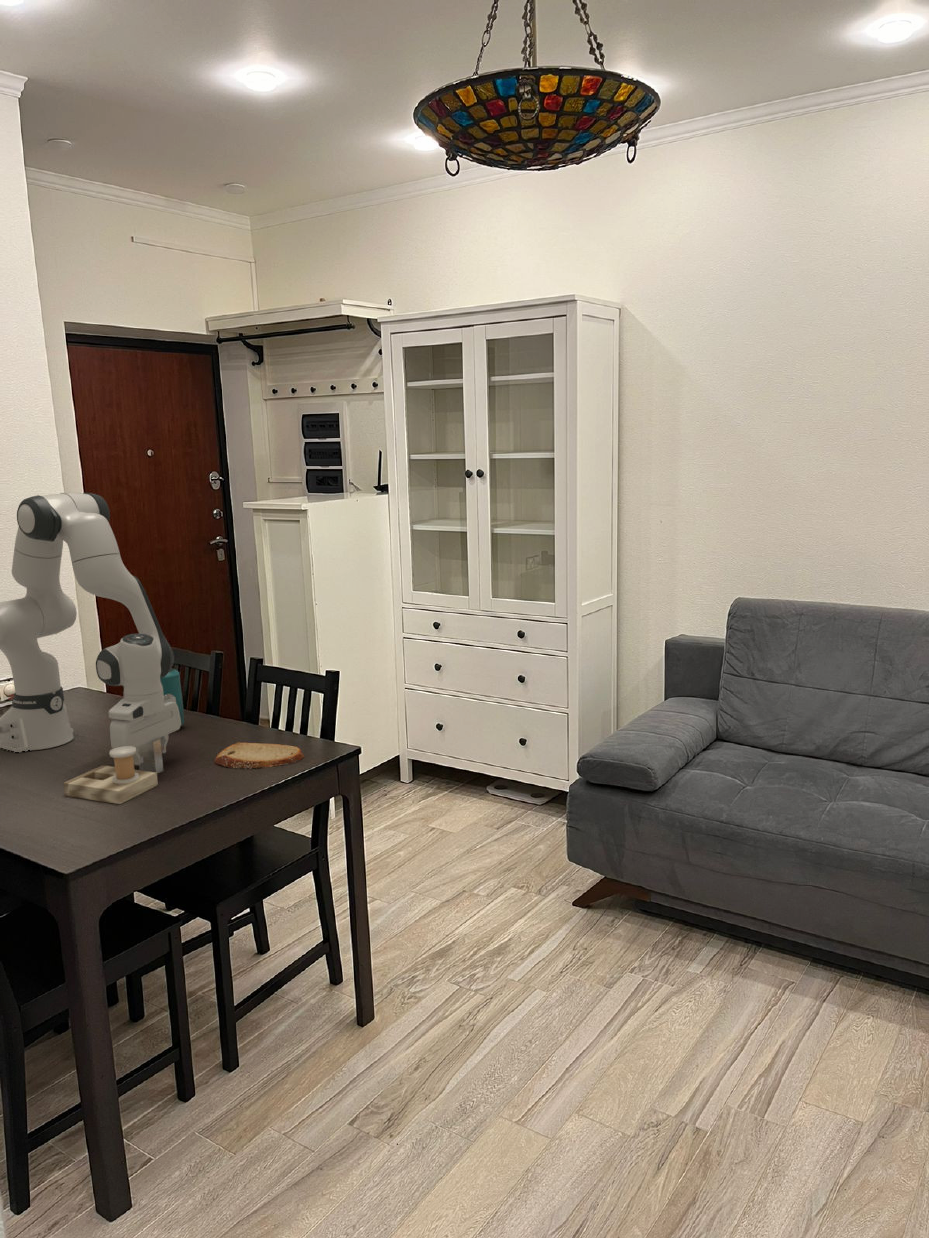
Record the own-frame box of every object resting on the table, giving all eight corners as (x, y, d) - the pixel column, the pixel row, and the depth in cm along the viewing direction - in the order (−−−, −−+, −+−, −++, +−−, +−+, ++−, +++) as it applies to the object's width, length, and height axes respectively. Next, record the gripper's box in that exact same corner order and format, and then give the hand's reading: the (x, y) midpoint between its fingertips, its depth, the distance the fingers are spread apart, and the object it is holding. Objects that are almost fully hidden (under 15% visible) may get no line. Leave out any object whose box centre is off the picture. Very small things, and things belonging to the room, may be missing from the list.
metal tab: (139, 771, 226) (136, 739, 224) (147, 768, 228) (143, 736, 226) (156, 774, 224) (153, 741, 222) (163, 770, 226) (160, 738, 224)
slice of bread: (310, 759, 231) (309, 744, 231) (245, 779, 219) (244, 763, 219) (270, 744, 244) (269, 730, 244) (207, 761, 232) (206, 747, 232)
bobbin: (107, 782, 210) (103, 752, 209) (125, 774, 215) (122, 745, 214) (126, 785, 208) (123, 755, 207) (144, 777, 213) (141, 747, 212)
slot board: (64, 795, 212) (63, 782, 211) (104, 777, 223) (102, 765, 222) (120, 804, 206) (118, 791, 205) (157, 785, 216) (156, 772, 216)
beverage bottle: (190, 727, 260) (184, 656, 256) (171, 733, 254) (164, 661, 251) (174, 723, 263) (167, 654, 260) (155, 730, 258) (148, 659, 254)
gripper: (164, 690, 233) (169, 744, 236) (102, 713, 215) (109, 771, 217) (184, 692, 231) (189, 746, 233) (124, 716, 212) (130, 774, 215)
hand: (150, 758), depth 225 cm, fingers open, 6 cm apart
